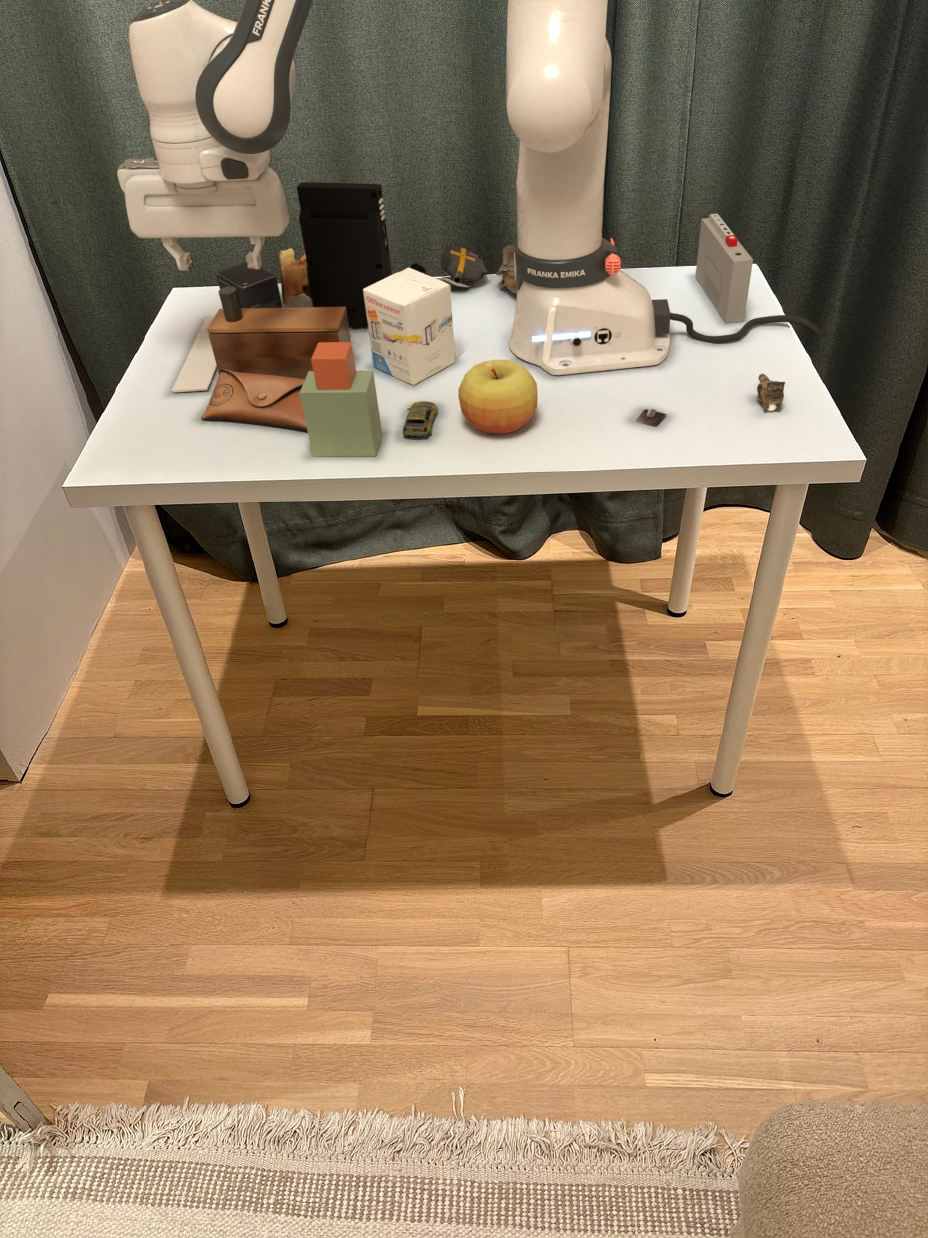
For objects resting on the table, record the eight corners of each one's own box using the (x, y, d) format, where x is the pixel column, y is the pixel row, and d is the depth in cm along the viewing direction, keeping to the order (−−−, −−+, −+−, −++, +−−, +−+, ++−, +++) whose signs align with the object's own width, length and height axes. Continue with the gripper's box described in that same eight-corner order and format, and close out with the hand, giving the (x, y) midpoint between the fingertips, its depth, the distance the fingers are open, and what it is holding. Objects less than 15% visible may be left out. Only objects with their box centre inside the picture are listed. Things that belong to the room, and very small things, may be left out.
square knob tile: (656, 427, 119) (656, 418, 118) (634, 421, 120) (634, 413, 119) (666, 414, 120) (666, 406, 119) (645, 408, 121) (645, 400, 120)
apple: (458, 445, 118) (453, 387, 113) (462, 403, 125) (458, 347, 120) (538, 443, 118) (537, 385, 112) (537, 401, 125) (537, 345, 119)
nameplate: (172, 392, 132) (207, 390, 132) (171, 390, 132) (206, 388, 132) (206, 320, 148) (237, 318, 148) (205, 318, 148) (237, 315, 147)
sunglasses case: (195, 419, 126) (196, 366, 124) (222, 418, 133) (224, 368, 131) (321, 433, 122) (324, 379, 120) (343, 431, 128) (346, 380, 127)
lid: (346, 310, 131) (341, 278, 128) (338, 331, 127) (332, 298, 124) (220, 312, 134) (212, 280, 130) (207, 332, 129) (199, 300, 126)
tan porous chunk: (275, 224, 146) (329, 222, 148) (280, 269, 156) (331, 267, 157) (280, 287, 142) (337, 285, 143) (285, 330, 151) (338, 327, 152)
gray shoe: (447, 231, 157) (440, 255, 159) (442, 262, 145) (434, 287, 147) (490, 246, 158) (482, 269, 160) (488, 278, 146) (480, 302, 149)
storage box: (354, 358, 136) (346, 311, 132) (346, 379, 132) (338, 332, 127) (232, 359, 138) (220, 313, 134) (220, 380, 134) (208, 334, 129)
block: (356, 372, 115) (351, 341, 112) (350, 389, 112) (344, 358, 109) (323, 372, 116) (318, 342, 113) (316, 389, 113) (310, 358, 110)
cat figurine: (763, 417, 118) (767, 385, 116) (748, 396, 125) (751, 365, 122) (786, 416, 118) (790, 384, 116) (770, 395, 124) (773, 364, 122)
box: (291, 344, 141) (276, 274, 133) (257, 358, 138) (241, 287, 131) (264, 327, 145) (248, 258, 138) (231, 340, 143) (214, 271, 136)
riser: (382, 434, 121) (373, 370, 115) (375, 456, 118) (366, 391, 112) (320, 434, 122) (308, 370, 116) (312, 456, 119) (299, 392, 113)
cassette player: (743, 321, 137) (754, 252, 130) (725, 323, 137) (734, 254, 130) (712, 275, 148) (720, 209, 141) (695, 277, 148) (702, 211, 141)
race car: (440, 406, 125) (438, 389, 124) (430, 440, 120) (428, 423, 118) (412, 406, 126) (410, 389, 124) (401, 439, 120) (399, 422, 118)
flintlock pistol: (563, 285, 142) (495, 284, 142) (561, 308, 144) (495, 307, 144) (558, 238, 156) (497, 238, 156) (557, 260, 158) (496, 259, 158)
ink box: (371, 367, 134) (360, 286, 126) (415, 344, 138) (407, 264, 130) (413, 386, 129) (404, 304, 121) (457, 362, 134) (451, 281, 126)
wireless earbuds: (410, 290, 150) (437, 286, 153) (410, 274, 149) (437, 270, 151) (387, 276, 155) (414, 272, 157) (388, 260, 153) (414, 256, 155)
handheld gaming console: (399, 320, 144) (383, 182, 130) (390, 334, 141) (373, 194, 127) (325, 315, 147) (301, 180, 133) (314, 329, 144) (289, 192, 130)
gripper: (103, 167, 115) (136, 279, 125) (268, 164, 113) (289, 277, 122) (122, 150, 120) (152, 258, 129) (281, 146, 117) (300, 257, 127)
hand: (220, 268), depth 126 cm, fingers open, 8 cm apart
